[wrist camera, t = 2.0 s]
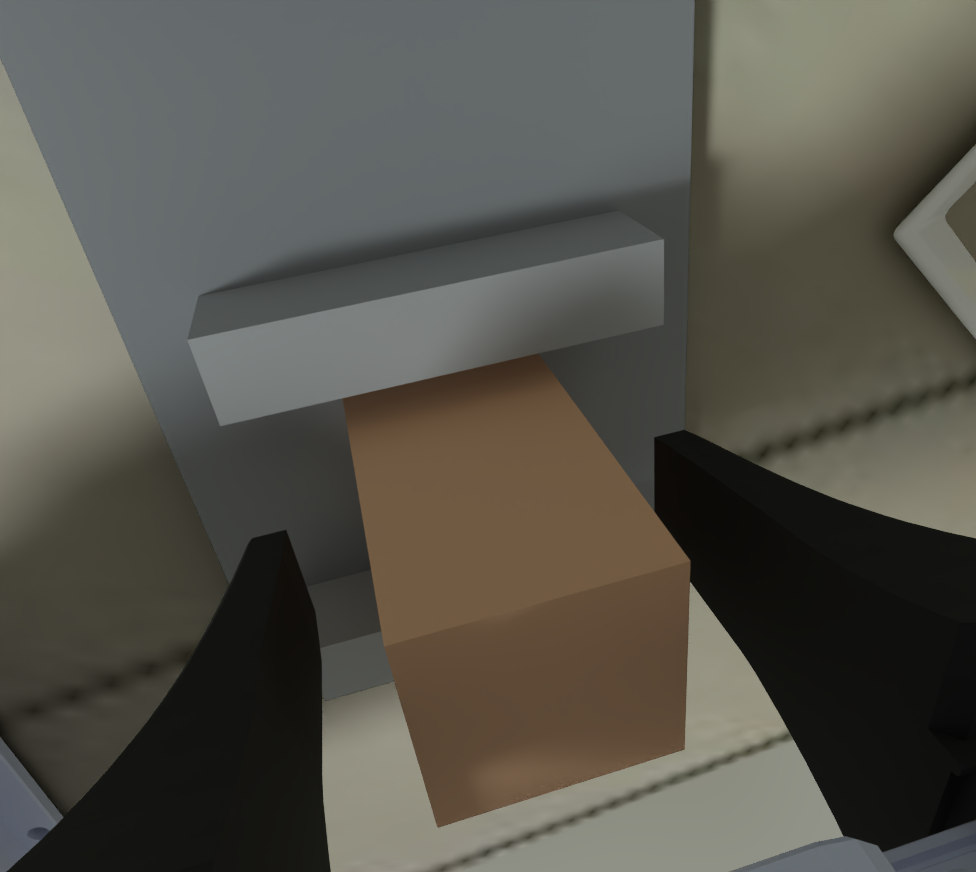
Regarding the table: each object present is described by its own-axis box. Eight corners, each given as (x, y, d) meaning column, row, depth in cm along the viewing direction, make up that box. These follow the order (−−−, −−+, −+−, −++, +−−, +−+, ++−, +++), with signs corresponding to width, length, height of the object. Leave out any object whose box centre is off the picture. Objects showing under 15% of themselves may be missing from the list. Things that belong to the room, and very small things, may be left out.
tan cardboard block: (547, 496, 17) (684, 749, 12) (381, 539, 17) (437, 827, 11) (531, 344, 15) (690, 560, 9) (340, 387, 15) (384, 646, 9)
